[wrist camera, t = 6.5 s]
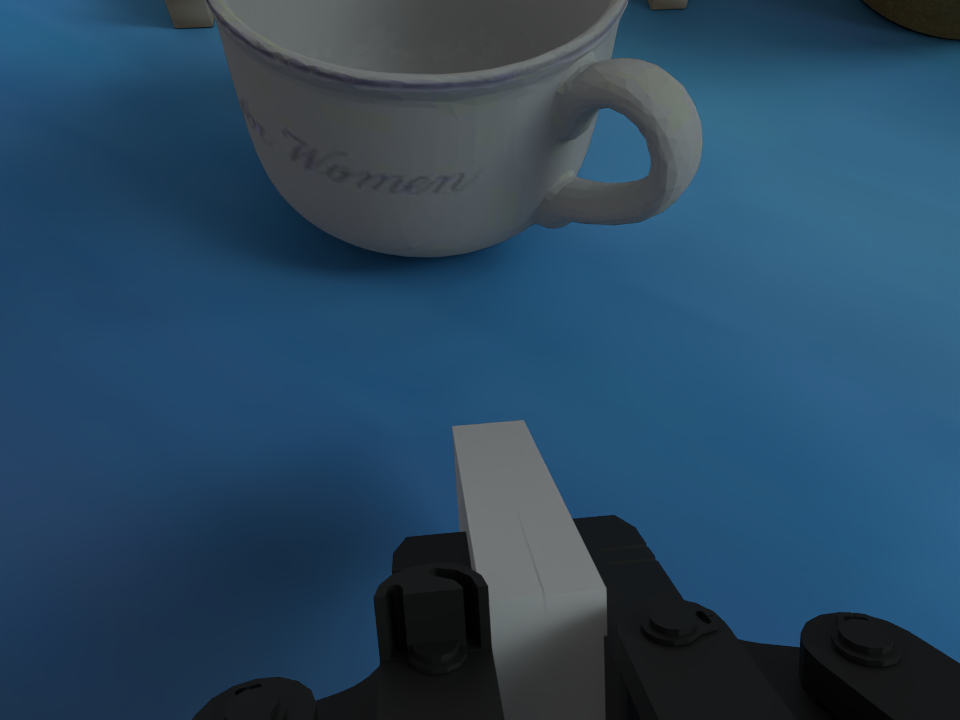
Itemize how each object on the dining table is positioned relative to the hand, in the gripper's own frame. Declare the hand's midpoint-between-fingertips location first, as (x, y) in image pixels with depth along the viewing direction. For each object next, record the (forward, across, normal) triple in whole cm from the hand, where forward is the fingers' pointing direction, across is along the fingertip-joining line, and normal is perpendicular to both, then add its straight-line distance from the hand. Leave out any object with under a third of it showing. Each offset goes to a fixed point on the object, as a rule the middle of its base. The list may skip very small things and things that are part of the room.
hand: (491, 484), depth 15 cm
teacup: (+11, 0, +5) cm, 12 cm away
